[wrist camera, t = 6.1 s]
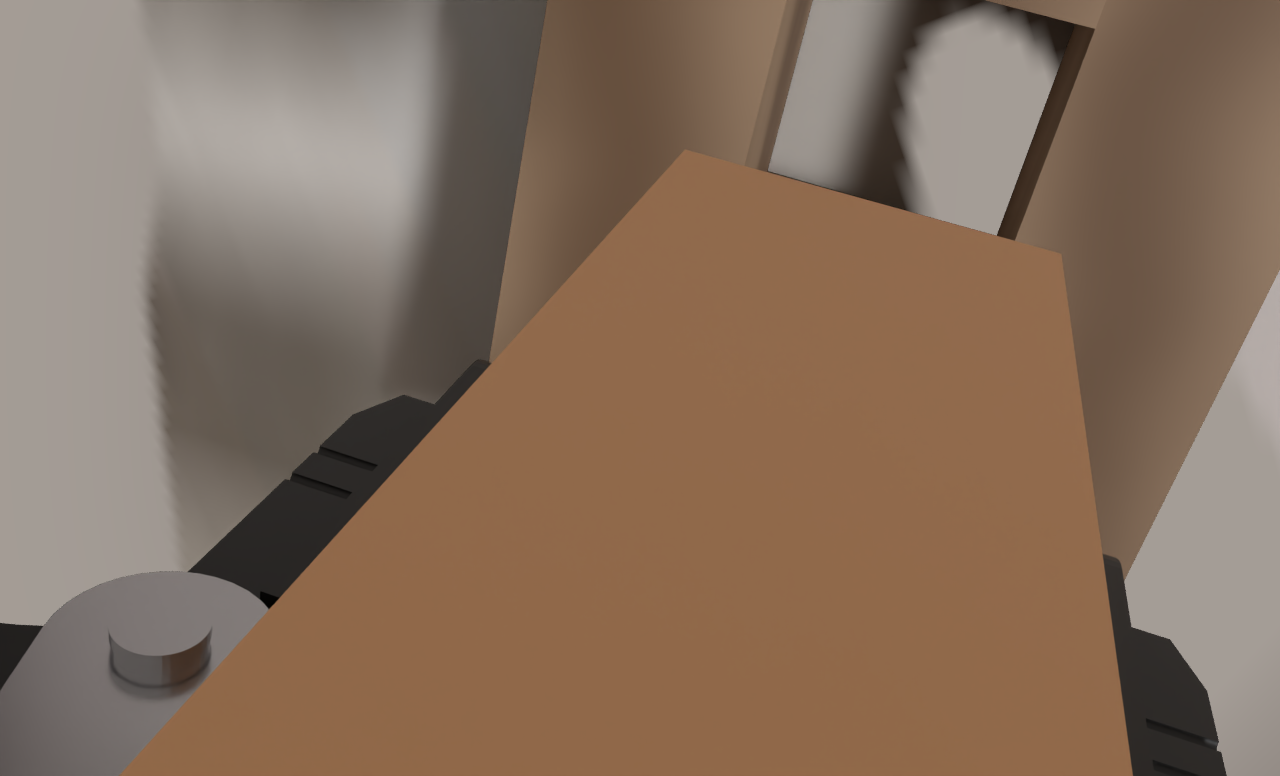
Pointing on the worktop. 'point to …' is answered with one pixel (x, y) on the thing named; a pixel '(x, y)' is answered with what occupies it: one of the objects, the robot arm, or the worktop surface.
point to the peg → (717, 527)
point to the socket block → (1036, 214)
